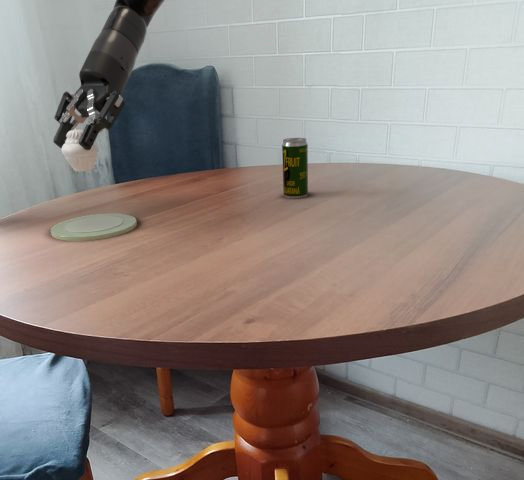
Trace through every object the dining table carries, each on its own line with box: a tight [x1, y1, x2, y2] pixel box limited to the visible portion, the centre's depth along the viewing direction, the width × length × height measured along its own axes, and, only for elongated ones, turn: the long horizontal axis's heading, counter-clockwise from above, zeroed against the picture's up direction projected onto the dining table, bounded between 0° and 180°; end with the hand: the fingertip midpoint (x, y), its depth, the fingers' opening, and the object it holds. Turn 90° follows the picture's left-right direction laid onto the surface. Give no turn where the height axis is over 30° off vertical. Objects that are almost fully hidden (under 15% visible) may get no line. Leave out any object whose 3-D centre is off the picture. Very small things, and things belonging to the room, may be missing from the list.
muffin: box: [60, 127, 99, 173], centre depth 95 cm, size 6×6×7 cm
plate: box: [50, 212, 138, 242], centre depth 104 cm, size 16×16×1 cm
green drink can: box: [281, 137, 309, 200], centre depth 116 cm, size 5×5×12 cm
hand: (71, 146), depth 93 cm, fingers closed on muffin, 6 cm apart
